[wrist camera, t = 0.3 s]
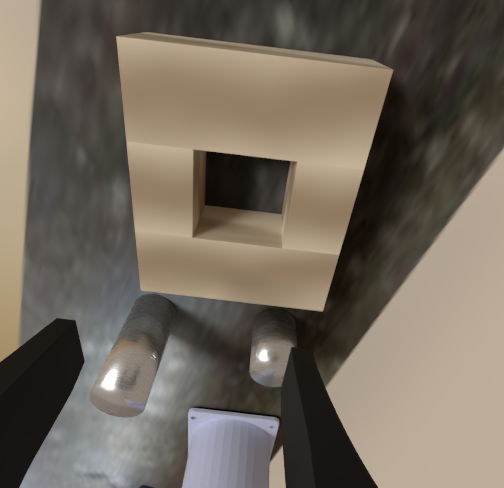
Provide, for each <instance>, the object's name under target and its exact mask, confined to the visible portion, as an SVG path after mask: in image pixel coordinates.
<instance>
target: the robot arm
mask: <svg viewBox="0 0 504 488" xmlns="http://www.w3.org/2000/svg"><path fill="white" fill-rule="evenodd" d="M83 364H84V356H83V352H82V348H81V343H80V339H79V335H78V330H77V326H76V321H75V320H67V319H59V318H57V319H55V320H54V321H53V322H51V323H50V324H49V325H48V326H46V327H45V328H44V329H42V330H41V331H40V332H39V333H37V334H36V335H35V336H33V337H32V338H31V339H30V340H28V341H27V342H26V343H25V344H23V345H22V346H21V347H19V348H18V349H17V350H16V351H14V352H13V353H12V354H11V355H9V356H8V357H6V358H5V359H4V360H3V361H1V362H0V488H19V487H20V485H21V483H22V480H23V478H24V476H25V474H26V472H27V470H28V468H29V467H30V465H31V463H32V461H33V459H34V457H35V455H36V454H37V452H38V450H39V448H40V447H41V445H42V443H43V441H44V440H45V438H46V436H47V435H48V433H49V431H50V429H51V428H52V426H53V424H54V422H55V421H56V419H57V417H58V415H59V414H60V412H61V410H62V408H63V406H64V405H65V403H66V401H67V399H68V397H69V396H70V394H71V392H72V390H73V388H74V385H75V383H76V381H77V379H78V376H79V374H80V371H81V369H82V366H83ZM281 426H282V440H283V454H284V468H285V481H286V488H378V487H377V485H376V484H375V482H374V481H373V479H372V477H371V475H370V474H369V473H368V471H367V469H366V467H365V465H364V464H363V462H362V460H361V459H360V457H359V455H358V453H357V452H356V450H355V448H354V446H353V444H352V442H351V441H350V439H349V437H348V435H347V433H346V431H345V429H344V427H343V425H342V423H341V421H340V419H339V417H338V415H337V413H336V410H335V408H334V406H333V404H332V402H331V400H330V398H329V395H328V393H327V391H326V388H325V386H324V383H323V381H322V378H321V376H320V373H319V371H318V368H317V365H316V362H315V359H314V356H313V353H312V351H311V350H310V349H305V348H297V347H291V350H290V354H289V358H288V362H287V366H286V370H285V374H284V378H283V382H282V394H281ZM278 427H279V419H278V418H276V417H270V416H262V415H253V414H244V413H236V412H227V411H218V410H209V409H201V408H191V409H189V413H188V460H187V465H186V470H185V475H184V480H183V485H182V488H269V462H270V458H271V454H272V450H273V446H274V442H275V439H276V435H277V431H278Z"/></svg>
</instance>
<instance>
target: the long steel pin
mask: <svg viewBox="0 0 504 488" xmlns="http://www.w3.org/2000/svg"><path fill="white" fill-rule="evenodd" d="M175 317H176V309H175V307H174V305H173V304H172V303H171V302H170V301H169V300H168V299H166V298H164V297H162V296H159V295H154V294H147V295H143V296H141V297H139V298H138V299H137V300H136V301H135V303H134V305H133V307H132V309H131V311H130V313H129V315H128V317H127V319H126V321H125V323H124V325H123V327H122V329H121V331H120V333H119V335H118V337H117V339H116V341H115V343H114V345H113V347H112V349H111V352H110V354H109V356H108V358H107V360H106V362H105V364H104V366H103V368H102V370H101V372H100V374H99V376H98V378H97V380H96V382H95V384H94V386H93V388H92V390H91V392H90V400H91V402H92V403H93V405H94V406H95V407H97V408H98V409H99V410H101V411H103V412H105V413H107V414H109V415H113V416H117V417H134V416H137V415H139V414H141V413H142V412H143V411H144V409H145V406H146V403H147V400H148V397H149V394H150V391H151V388H152V385H153V382H154V379H155V376H156V373H157V370H158V367H159V364H160V362H161V359H162V356H163V353H164V350H165V347H166V344H167V341H168V338H169V335H170V332H171V329H172V326H173V323H174V320H175Z"/></svg>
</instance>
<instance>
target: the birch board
mask: <svg viewBox="0 0 504 488" xmlns="http://www.w3.org/2000/svg"><path fill="white" fill-rule="evenodd" d="M116 37H117V48H118V58H119V68H120V79H121V89H122V100H123V110H124V120H125V131H126V141H127V152H128V162H129V172H130V183H131V193H132V204H133V214H134V224H135V235H136V245H137V256H138V266H139V276H140V287H141V290H143V291H151V292H160V293H168V294H177V295H186V296H194V297H203V298H211V299H220V300H228V301H237V302H246V303H254V304H263V305H271V306H280V307H288V308H297V309H306V310H314V311H323V309H324V306H325V302H326V299H327V295H328V292H329V288H330V285H331V282H332V278H333V275H334V271H335V268H336V264H337V261H338V258H339V254H340V251H341V247H342V244H343V240H344V237H345V234H346V230H347V227H348V223H349V220H350V216H351V213H352V210H353V206H354V203H355V199H356V196H357V192H358V189H359V186H360V182H361V179H362V175H363V172H364V168H365V165H366V162H367V158H368V155H369V151H370V148H371V144H372V141H373V138H374V134H375V131H376V127H377V124H378V120H379V117H380V114H381V110H382V107H383V103H384V100H385V96H386V93H387V90H388V86H389V83H390V79H391V76H392V72H393V69H391V68H389V67H386V66H384V65H382V64H380V63H378V62H376V61H374V60H372V59H365V58H356V57H348V56H340V55H331V54H323V53H315V52H307V51H298V50H290V49H282V48H274V47H265V46H257V45H249V44H241V43H232V42H224V41H216V40H207V39H199V38H191V37H183V36H174V35H166V34H158V33H150V32H144V33H137V34H130V35H122V36H116ZM206 151H211V152H219V153H228V154H236V155H245V156H253V157H261V158H270V159H278V160H287V161H290V166H289V172H288V178H287V184H286V190H285V196H284V202H283V208H282V214H275V213H267V212H259V211H250V210H242V209H233V208H225V207H216V206H208V205H205V181H206Z"/></svg>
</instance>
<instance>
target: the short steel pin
mask: <svg viewBox="0 0 504 488" xmlns="http://www.w3.org/2000/svg"><path fill="white" fill-rule="evenodd" d="M291 347H297V337H296V322H295V319H294V317H293V316H292V315H291V314H290V313H289V312H287V311H285V310H282V309H276V308H271V309H266V310H263V311H261V312H260V313H258V314H257V315H256V317H255V318H254V321H253V333H252V346H251V359H250V375H251V377H252V378H253V379H254V380H255V381H256V382H258V383H259V384H262V385H265V386H269V387H281V386H282V382H283V378H284V374H285V370H286V366H287V362H288V358H289V354H290V350H291Z"/></svg>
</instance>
